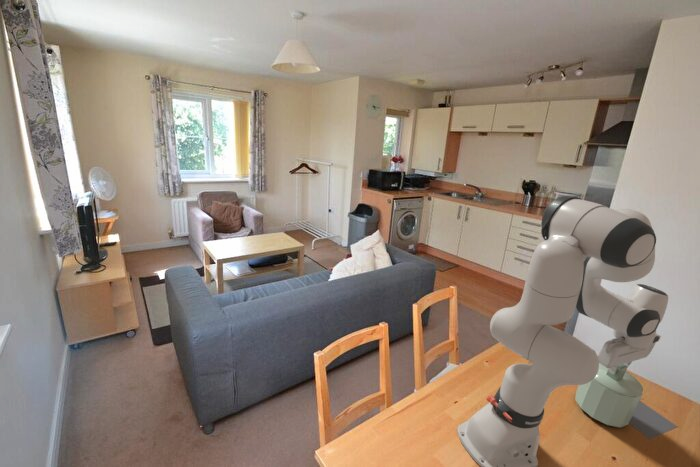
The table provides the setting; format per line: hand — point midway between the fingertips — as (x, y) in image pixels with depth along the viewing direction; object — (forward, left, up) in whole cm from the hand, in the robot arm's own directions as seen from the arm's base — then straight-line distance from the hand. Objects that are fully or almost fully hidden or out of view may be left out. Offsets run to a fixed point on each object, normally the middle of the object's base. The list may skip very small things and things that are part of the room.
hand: (616, 371), depth 101 cm
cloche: (0, 0, -15) cm, 15 cm away
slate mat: (+12, -5, -17) cm, 21 cm away
